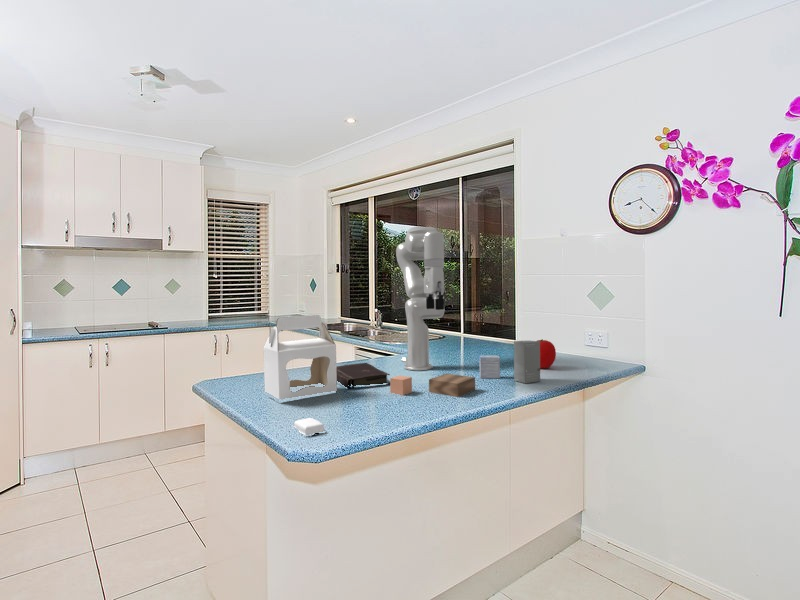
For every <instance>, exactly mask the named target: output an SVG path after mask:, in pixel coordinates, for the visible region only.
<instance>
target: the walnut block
mask: <svg viewBox="0 0 800 600" xmlns="http://www.w3.org/2000/svg"><path fill="white" fill-rule="evenodd" d="M473 390H474V391H476V377H474V376H473V377H472V376H467V375H461V374H460V375H459V374H453V373H444V374H442V375H439V376H435V377H432V378H429V379H428V392H429V393H431V394H437V395H443V396H447V397H449V396H450V397H454V398H455V397H456V398H459V397H462V396H464V394H465V395H467V394H469V392H470V393H471V391H472V392H474V391H473Z"/></svg>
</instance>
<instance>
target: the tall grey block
mask: <svg viewBox="0 0 800 600" xmlns="http://www.w3.org/2000/svg"><path fill="white" fill-rule="evenodd" d="M513 369H514V370H513V374H514V375H513V380H514V381H515V382H520V383H522V384H525V383H526V384H531V382H532V383H537V382H541V368H540V342H539V341H537V340H515V341H513Z"/></svg>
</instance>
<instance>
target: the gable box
mask: <svg viewBox="0 0 800 600" xmlns="http://www.w3.org/2000/svg"><path fill="white" fill-rule="evenodd" d="M275 324H276V326H273V327H270V328H269V336H268V337H267V339H266V341H265V344H264V346H263V370H264V371H263V372H264V373H263V374H264V376H263V378H264V379H263V380H264V393H265V392H267V393H269V394H271V395H273V396H274V397H276V398H278V399H285V398H292V397H298V396H305V395H312V394H317V393H323V392H331V391H337V392H338V384H337V372H336V366H337V345H336V343H335V341H334V339H333V338H332V335H331V334H330V332H329V330H328V323H327V322H322V319H321V316H320V315H319V314H315V315H312V314H311V315H299V316H289V317H288V316H286V317H285V316H284V317H278V318H277V319H276V320H275ZM307 329H309V330H310V329H318V330H319V331H318V334H319V335H318V337H317V338H309V339H308V338H307V339H299V340H298V339H295V340H287V341H279V333H280V332H284V331H295V330H307ZM297 359H300V360H301V359H303V360H312V361H311V365H310V369H309V370H310V378H309V379H307V380H302V379H292V380H290V376H289V373H288V371H287V365H288V363H289V362H290V361H293V360H297ZM318 383H321V384H323V385H325V386H323V387H315V386H309V387H305V388H302V389H300V390H298V391H296V392H292V391H290V387H297V386H304V385H311V384H318Z"/></svg>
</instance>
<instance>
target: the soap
mask: <svg viewBox="0 0 800 600" xmlns="http://www.w3.org/2000/svg"><path fill="white" fill-rule="evenodd" d="M293 427H295V428H297V429H298V430H299V432H300V433H302V434H304V435H309V434H313V433H318V432H323V431H326V429H325V426H324V424H323V423H322V422H320V421H319V420H317V419H315V418H313V417H308V418H303V419H298V420H295V421H294V422H293ZM326 432H327V431H326Z"/></svg>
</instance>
